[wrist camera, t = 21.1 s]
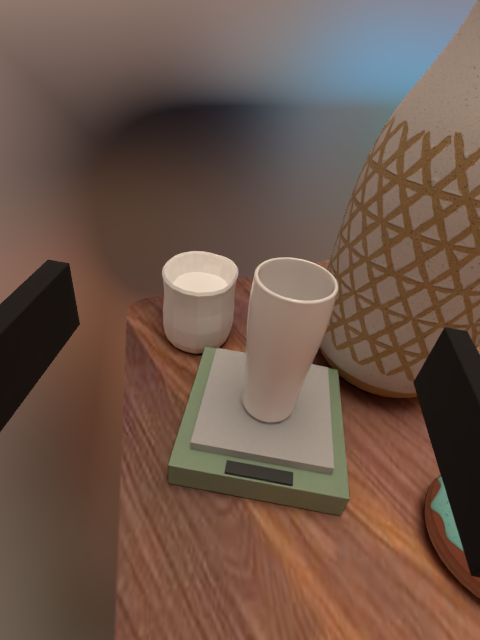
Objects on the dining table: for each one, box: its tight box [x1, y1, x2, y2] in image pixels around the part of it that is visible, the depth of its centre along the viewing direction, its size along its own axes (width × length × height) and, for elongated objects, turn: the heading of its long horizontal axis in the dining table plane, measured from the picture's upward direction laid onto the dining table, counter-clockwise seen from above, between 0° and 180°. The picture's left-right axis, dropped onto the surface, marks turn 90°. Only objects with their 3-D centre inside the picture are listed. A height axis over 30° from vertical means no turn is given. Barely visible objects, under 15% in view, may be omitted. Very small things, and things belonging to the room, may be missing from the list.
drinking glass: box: [242, 257, 338, 423], centre depth 35 cm, size 7×7×15 cm
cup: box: [162, 251, 238, 354], centre depth 51 cm, size 10×10×10 cm
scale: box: [168, 347, 350, 515], centre depth 41 cm, size 16×16×4 cm
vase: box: [320, 0, 480, 398], centre depth 41 cm, size 19×19×38 cm
